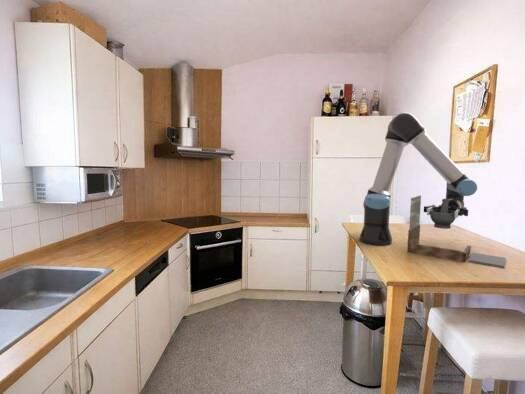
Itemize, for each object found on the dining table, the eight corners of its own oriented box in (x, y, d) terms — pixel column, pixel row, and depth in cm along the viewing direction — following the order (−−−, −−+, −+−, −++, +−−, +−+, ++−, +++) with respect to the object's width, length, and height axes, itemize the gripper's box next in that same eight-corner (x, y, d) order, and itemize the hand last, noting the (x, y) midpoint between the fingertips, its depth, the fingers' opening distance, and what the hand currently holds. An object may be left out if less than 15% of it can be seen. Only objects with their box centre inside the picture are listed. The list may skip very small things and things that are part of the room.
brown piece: (407, 251, 131) (410, 198, 128) (416, 244, 142) (419, 195, 139) (465, 262, 117) (470, 202, 114) (470, 253, 128) (474, 198, 125)
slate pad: (468, 261, 117) (468, 259, 117) (472, 254, 127) (472, 252, 127) (504, 268, 110) (504, 266, 110) (505, 259, 120) (505, 257, 120)
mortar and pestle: (453, 230, 121) (455, 201, 119) (427, 227, 127) (429, 199, 125) (457, 226, 129) (458, 198, 128) (432, 223, 135) (434, 197, 134)
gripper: (478, 217, 134) (473, 225, 117) (424, 212, 148) (412, 219, 131) (480, 201, 133) (474, 206, 116) (425, 197, 148) (413, 202, 131)
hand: (441, 213), depth 124 cm, fingers closed on mortar and pestle, 9 cm apart
